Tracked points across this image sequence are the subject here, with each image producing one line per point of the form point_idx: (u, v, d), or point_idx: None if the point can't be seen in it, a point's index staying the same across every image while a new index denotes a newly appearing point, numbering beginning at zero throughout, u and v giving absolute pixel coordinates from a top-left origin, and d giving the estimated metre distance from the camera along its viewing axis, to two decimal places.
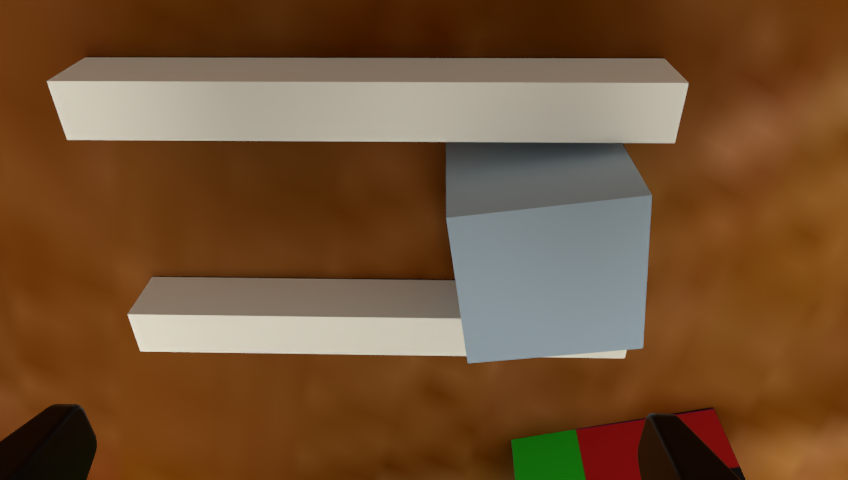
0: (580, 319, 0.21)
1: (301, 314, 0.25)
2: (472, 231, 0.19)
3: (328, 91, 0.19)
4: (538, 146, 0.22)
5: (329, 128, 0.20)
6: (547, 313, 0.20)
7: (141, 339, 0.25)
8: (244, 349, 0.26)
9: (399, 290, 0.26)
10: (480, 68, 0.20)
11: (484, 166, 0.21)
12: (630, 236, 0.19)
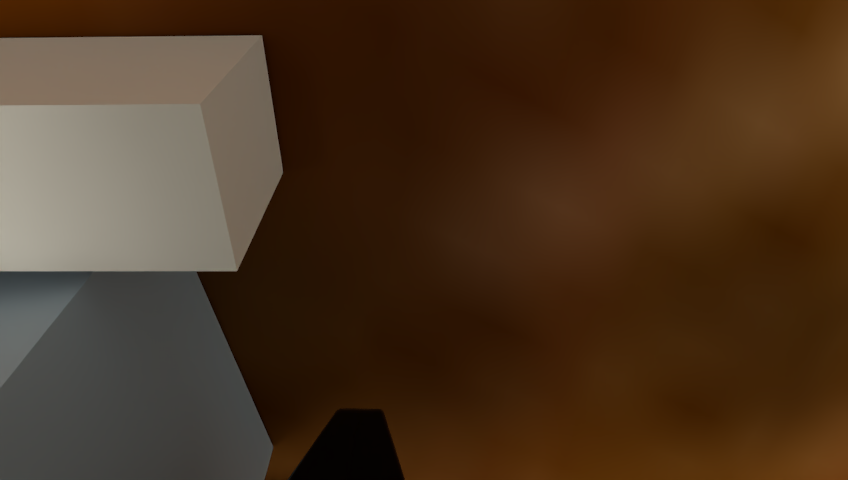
0: None
1: None
2: None
3: None
4: None
5: None
6: None
7: None
8: None
9: None
10: None
11: None
12: None
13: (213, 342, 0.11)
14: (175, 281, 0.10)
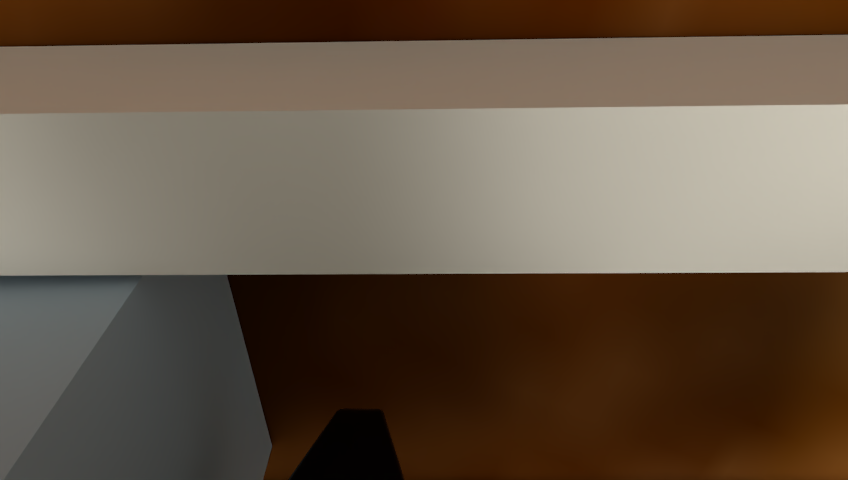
0: None
1: None
2: None
3: (270, 139, 0.06)
4: None
5: (280, 242, 0.07)
6: None
7: None
8: None
9: None
10: (707, 62, 0.07)
11: None
12: None
13: (234, 340, 0.11)
14: (209, 278, 0.10)
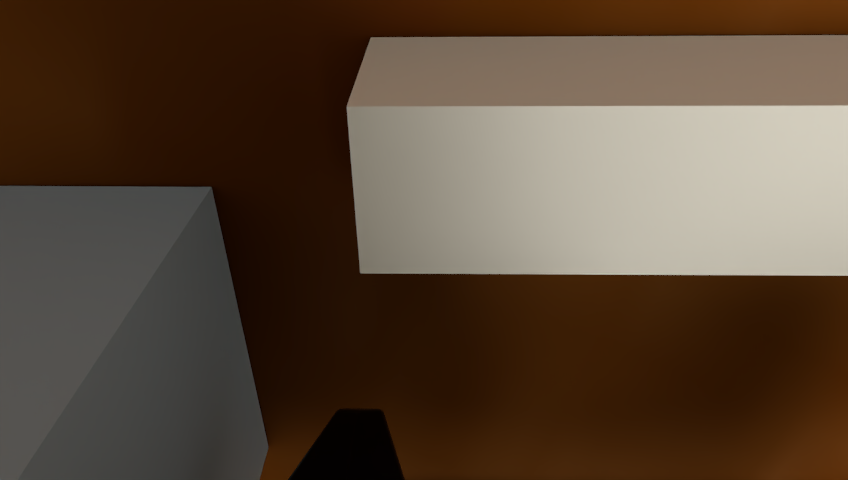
0: None
1: None
2: None
3: None
4: None
5: None
6: None
7: None
8: None
9: None
10: None
11: None
12: None
13: (236, 342, 0.11)
14: (214, 280, 0.10)
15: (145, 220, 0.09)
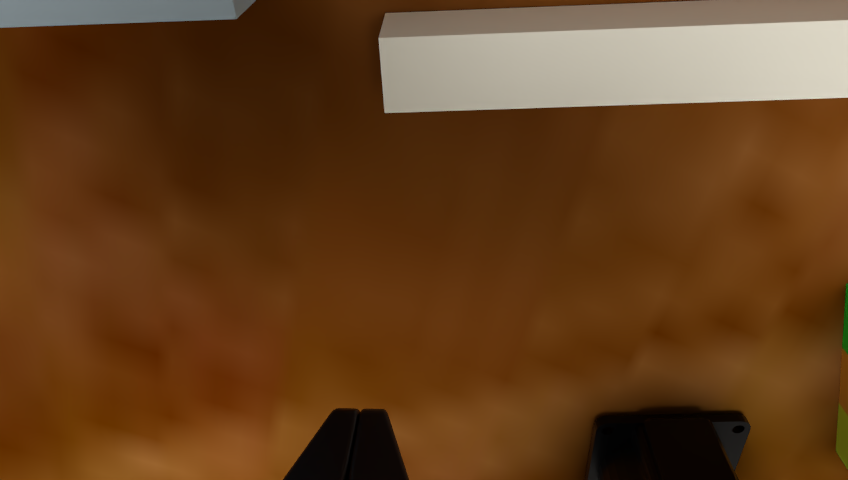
0: None
1: (657, 26, 0.15)
2: None
3: None
4: None
5: None
6: None
7: (391, 88, 0.16)
8: (549, 101, 0.16)
9: (783, 4, 0.17)
10: None
11: None
12: None
13: None
14: None
15: None
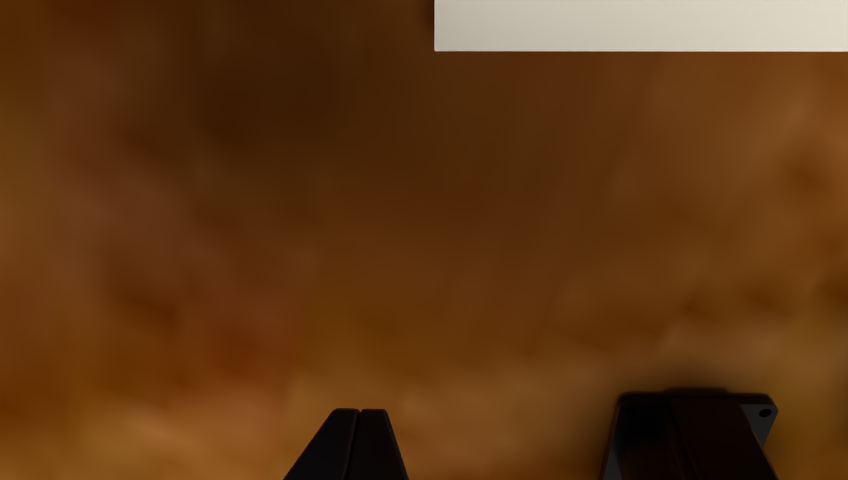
0: None
1: None
2: None
3: None
4: None
5: None
6: None
7: (443, 24, 0.16)
8: (606, 44, 0.16)
9: None
10: None
11: None
12: None
13: None
14: None
15: None
